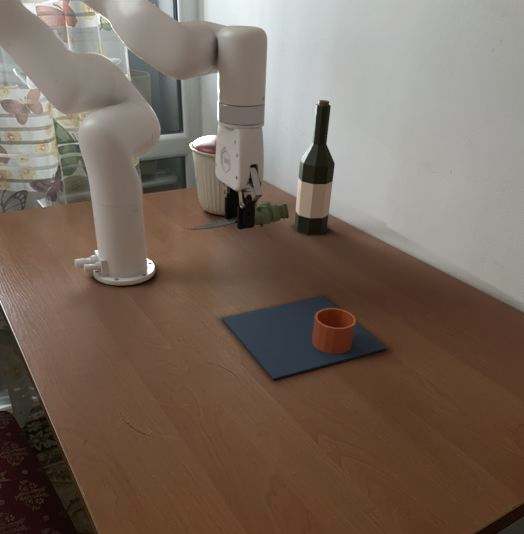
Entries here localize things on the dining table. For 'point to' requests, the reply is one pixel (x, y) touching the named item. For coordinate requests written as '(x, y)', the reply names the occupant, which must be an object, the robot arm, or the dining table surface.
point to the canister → (208, 175)
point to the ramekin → (333, 330)
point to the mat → (293, 338)
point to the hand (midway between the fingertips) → (239, 222)
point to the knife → (262, 216)
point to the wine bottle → (315, 177)
